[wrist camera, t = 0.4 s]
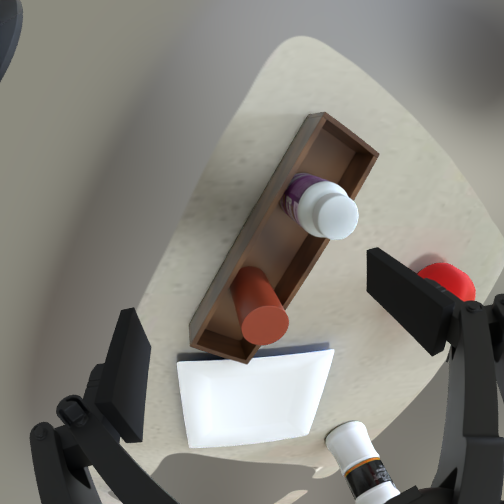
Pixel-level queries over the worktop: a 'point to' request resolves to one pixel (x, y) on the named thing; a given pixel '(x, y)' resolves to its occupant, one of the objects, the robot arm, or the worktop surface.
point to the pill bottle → (319, 207)
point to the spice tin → (258, 307)
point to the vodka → (360, 464)
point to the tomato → (450, 280)
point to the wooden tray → (280, 233)
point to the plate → (251, 398)
